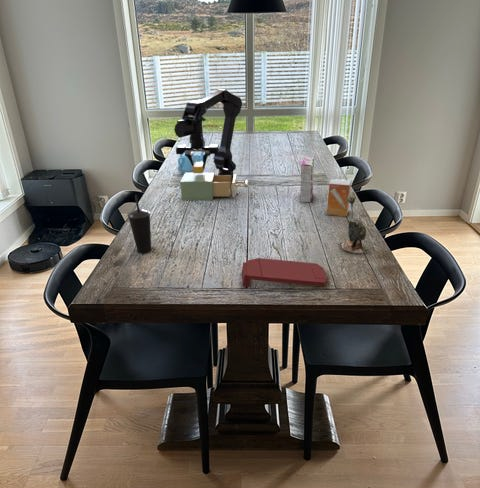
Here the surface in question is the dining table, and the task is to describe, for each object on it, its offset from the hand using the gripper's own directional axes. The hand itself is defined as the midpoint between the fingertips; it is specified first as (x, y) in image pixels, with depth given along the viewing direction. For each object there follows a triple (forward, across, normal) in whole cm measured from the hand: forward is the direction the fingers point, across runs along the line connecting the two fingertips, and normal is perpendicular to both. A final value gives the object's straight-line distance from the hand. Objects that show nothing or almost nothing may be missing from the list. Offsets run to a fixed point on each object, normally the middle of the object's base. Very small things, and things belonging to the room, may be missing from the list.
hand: (199, 168), depth 205 cm
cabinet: (+11, 0, +4) cm, 12 cm away
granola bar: (+1, 0, 0) cm, 1 cm away
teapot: (+11, +10, -34) cm, 37 cm away
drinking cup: (+11, +11, +62) cm, 64 cm away
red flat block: (+11, -38, +81) cm, 90 cm away
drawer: (+10, -13, +4) cm, 17 cm away
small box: (+11, -60, +26) cm, 66 cm away
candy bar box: (+11, -48, +9) cm, 50 cm away
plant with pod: (+11, -62, +60) cm, 87 cm away
